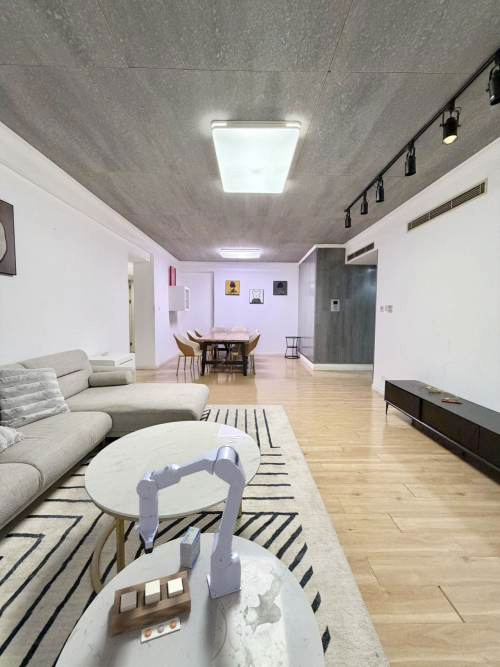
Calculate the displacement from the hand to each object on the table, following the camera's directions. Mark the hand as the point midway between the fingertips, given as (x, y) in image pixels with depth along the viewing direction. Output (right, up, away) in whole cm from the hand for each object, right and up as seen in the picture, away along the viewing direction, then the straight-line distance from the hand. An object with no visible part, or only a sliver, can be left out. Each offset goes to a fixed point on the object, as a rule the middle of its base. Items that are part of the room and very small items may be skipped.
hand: (148, 552), depth 90 cm
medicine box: (+11, -10, +10) cm, 18 cm away
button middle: (+4, -8, -7) cm, 11 cm away
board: (+3, -11, -6) cm, 13 cm away
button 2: (+10, -10, -4) cm, 14 cm away
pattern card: (+8, -12, -13) cm, 19 cm away
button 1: (-3, -10, -9) cm, 13 cm away
